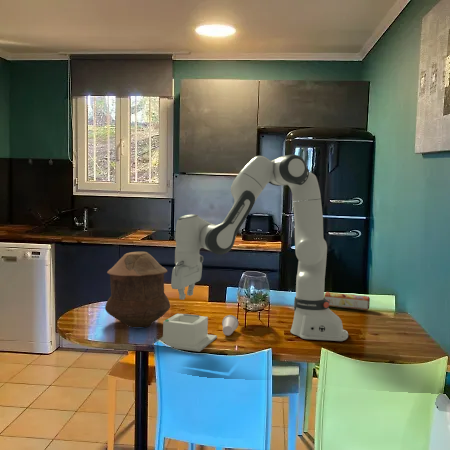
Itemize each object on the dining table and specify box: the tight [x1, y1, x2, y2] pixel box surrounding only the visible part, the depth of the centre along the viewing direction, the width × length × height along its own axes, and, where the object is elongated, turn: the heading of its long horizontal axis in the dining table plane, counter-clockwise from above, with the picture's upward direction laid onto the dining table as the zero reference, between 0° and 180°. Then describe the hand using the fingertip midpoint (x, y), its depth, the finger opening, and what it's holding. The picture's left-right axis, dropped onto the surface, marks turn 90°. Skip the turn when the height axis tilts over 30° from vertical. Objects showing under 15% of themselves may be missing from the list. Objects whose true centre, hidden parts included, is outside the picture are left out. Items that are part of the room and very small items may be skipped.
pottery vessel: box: [104, 251, 171, 328], centre depth 208 cm, size 26×26×30 cm
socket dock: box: [151, 313, 218, 352], centre depth 191 cm, size 18×18×9 cm
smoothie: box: [221, 314, 239, 336], centre depth 204 cm, size 6×6×14 cm
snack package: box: [324, 291, 371, 311], centre depth 251 cm, size 21×7×7 cm
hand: (186, 297), depth 190 cm, fingers open, 6 cm apart
